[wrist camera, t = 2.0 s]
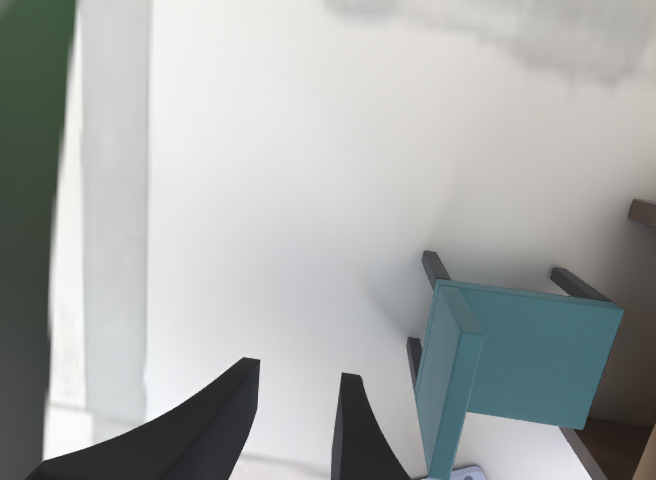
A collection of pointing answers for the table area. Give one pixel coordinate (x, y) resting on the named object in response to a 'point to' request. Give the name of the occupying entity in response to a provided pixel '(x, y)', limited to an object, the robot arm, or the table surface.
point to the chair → (506, 357)
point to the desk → (615, 438)
